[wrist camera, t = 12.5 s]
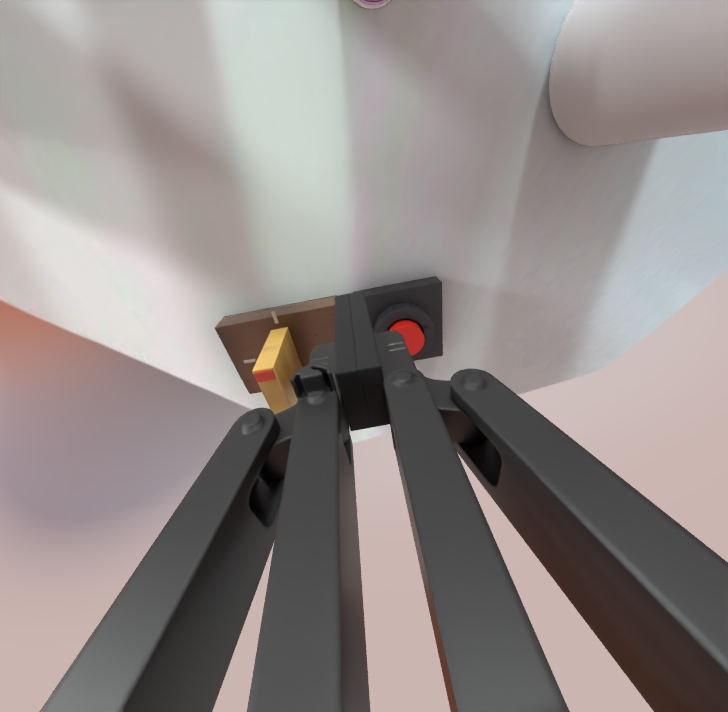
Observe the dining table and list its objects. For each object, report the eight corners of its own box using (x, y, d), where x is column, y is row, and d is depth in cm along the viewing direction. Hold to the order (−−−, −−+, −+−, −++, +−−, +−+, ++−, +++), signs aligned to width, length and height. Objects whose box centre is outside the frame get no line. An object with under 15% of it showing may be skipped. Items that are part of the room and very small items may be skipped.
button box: (366, 359, 38) (369, 377, 35) (353, 292, 33) (354, 304, 29) (437, 347, 38) (447, 363, 34) (436, 276, 32) (447, 287, 29)
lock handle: (305, 374, 35) (296, 422, 28) (290, 377, 35) (277, 426, 28) (287, 326, 31) (272, 368, 24) (270, 330, 31) (250, 372, 24)
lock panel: (257, 383, 39) (251, 398, 36) (221, 312, 33) (211, 323, 30) (353, 365, 38) (354, 379, 36) (335, 290, 32) (335, 300, 30)
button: (389, 351, 33) (391, 359, 32) (385, 322, 31) (387, 329, 30) (421, 346, 33) (425, 353, 32) (419, 316, 31) (423, 323, 30)
